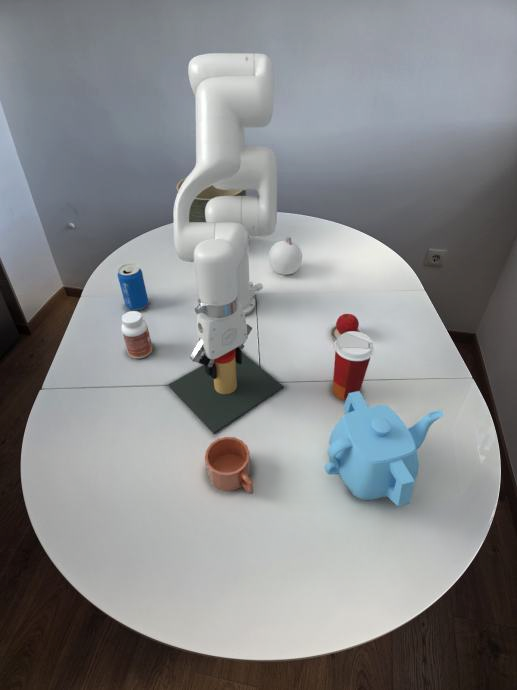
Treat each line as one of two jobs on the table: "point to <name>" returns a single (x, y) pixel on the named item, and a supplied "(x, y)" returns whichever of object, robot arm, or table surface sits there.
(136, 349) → the pill bottle
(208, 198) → the planter
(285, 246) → the ornament
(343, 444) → the teapot
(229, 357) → the jar
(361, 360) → the coffee cup
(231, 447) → the terracotta mug
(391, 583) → the table surface
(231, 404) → the mat
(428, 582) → the table surface
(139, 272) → the beverage can
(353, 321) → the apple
